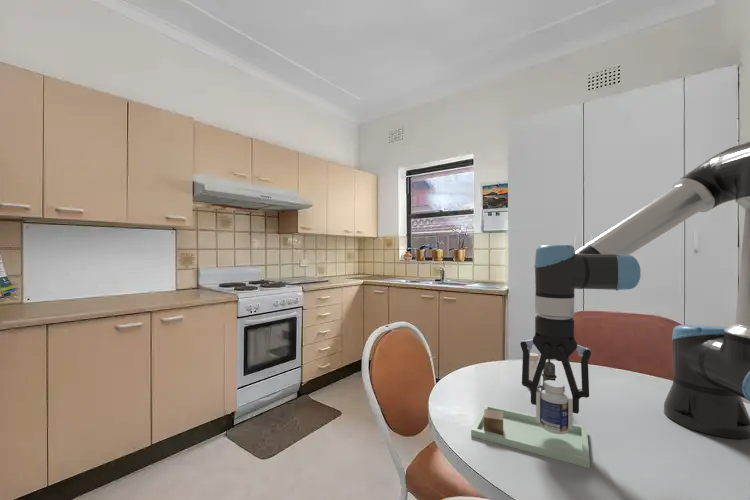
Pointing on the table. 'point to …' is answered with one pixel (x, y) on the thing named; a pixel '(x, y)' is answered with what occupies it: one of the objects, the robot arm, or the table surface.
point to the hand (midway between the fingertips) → (554, 422)
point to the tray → (536, 437)
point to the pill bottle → (554, 407)
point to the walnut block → (493, 421)
